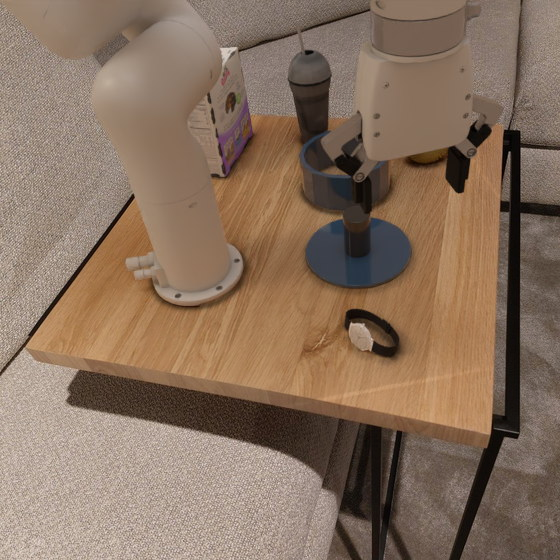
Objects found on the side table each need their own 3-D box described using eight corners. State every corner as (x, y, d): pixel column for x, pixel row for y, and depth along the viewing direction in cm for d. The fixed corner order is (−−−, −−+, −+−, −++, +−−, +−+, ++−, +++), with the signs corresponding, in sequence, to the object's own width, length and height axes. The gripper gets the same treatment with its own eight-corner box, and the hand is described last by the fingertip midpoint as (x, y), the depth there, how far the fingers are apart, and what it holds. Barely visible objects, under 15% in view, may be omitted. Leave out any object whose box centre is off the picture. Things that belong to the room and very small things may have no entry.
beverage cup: (332, 149, 100) (325, 31, 86) (290, 149, 102) (277, 33, 88) (338, 127, 105) (331, 12, 91) (298, 127, 107) (286, 15, 93)
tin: (311, 220, 87) (308, 184, 83) (297, 171, 97) (293, 137, 92) (400, 204, 87) (401, 167, 83) (376, 157, 97) (376, 122, 93)
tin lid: (316, 300, 75) (312, 259, 70) (298, 232, 85) (293, 192, 80) (425, 280, 75) (428, 238, 70) (393, 214, 86) (394, 174, 81)
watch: (334, 331, 71) (333, 311, 68) (363, 311, 73) (363, 291, 70) (380, 369, 66) (380, 349, 64) (409, 347, 68) (410, 326, 65)
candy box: (224, 133, 109) (207, 44, 97) (254, 134, 107) (239, 45, 95) (194, 175, 99) (171, 83, 88) (226, 178, 98) (206, 85, 86)
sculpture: (407, 172, 93) (409, 127, 87) (399, 159, 96) (400, 115, 90) (455, 162, 93) (460, 116, 88) (445, 149, 96) (449, 104, 91)
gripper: (495, -8, 51) (473, 159, 63) (304, 30, 50) (318, 193, 62) (539, 22, 46) (506, 198, 58) (326, 65, 45) (337, 236, 57)
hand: (409, 196), depth 60 cm, fingers open, 9 cm apart
